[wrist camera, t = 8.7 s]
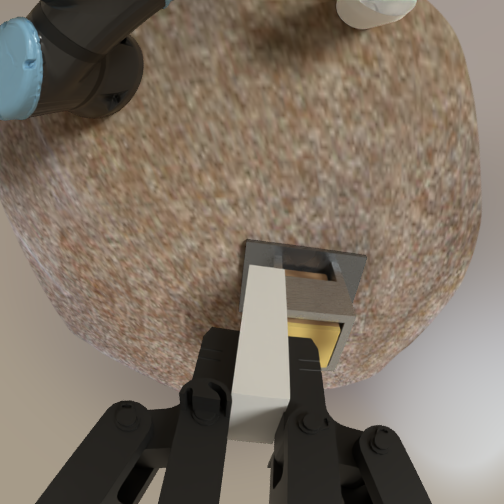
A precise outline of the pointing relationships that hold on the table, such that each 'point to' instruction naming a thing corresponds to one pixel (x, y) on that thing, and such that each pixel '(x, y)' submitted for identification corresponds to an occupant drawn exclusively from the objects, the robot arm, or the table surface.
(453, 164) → the table surface
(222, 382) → the robot arm
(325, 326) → the block
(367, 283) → the table surface
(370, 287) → the table surface
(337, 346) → the chute
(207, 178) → the table surface
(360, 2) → the cup
